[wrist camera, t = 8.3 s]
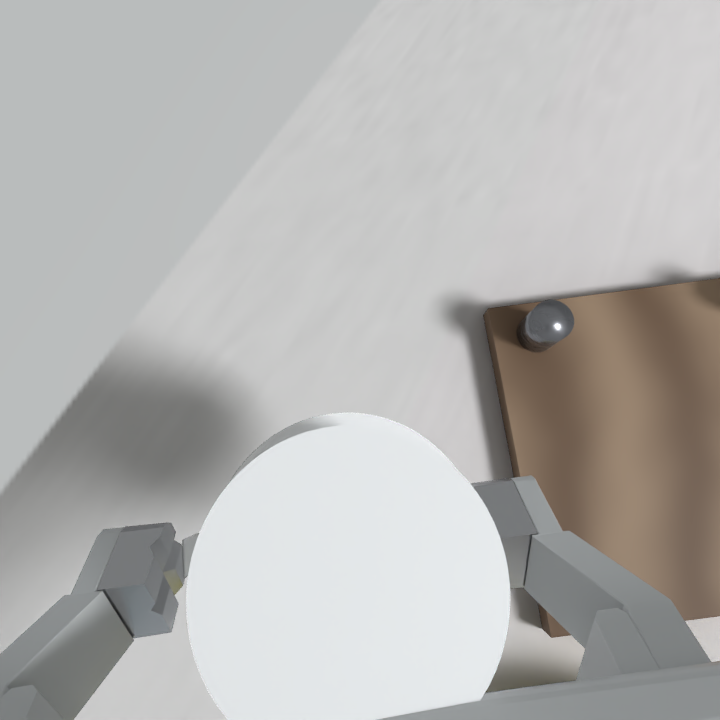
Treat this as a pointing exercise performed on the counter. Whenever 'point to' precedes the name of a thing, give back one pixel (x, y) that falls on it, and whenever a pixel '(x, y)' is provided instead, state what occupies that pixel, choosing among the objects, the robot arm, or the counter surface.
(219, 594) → the recessed downlight
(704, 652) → the robot arm
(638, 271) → the counter surface
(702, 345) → the pin board
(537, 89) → the counter surface
